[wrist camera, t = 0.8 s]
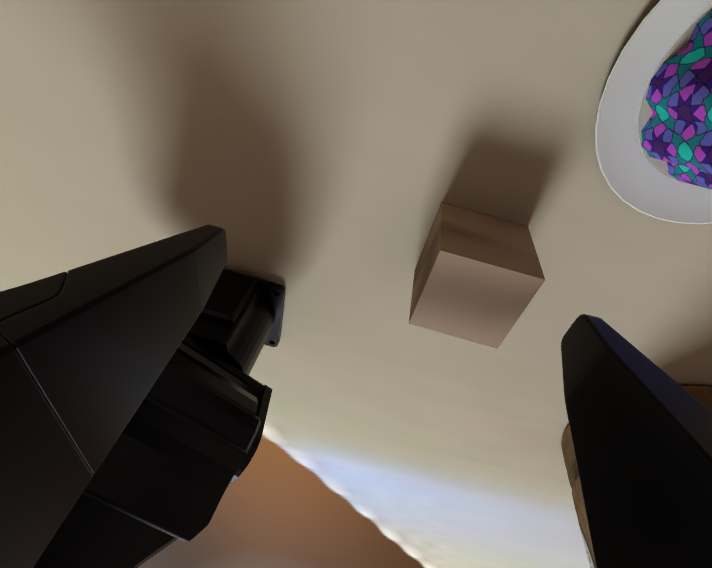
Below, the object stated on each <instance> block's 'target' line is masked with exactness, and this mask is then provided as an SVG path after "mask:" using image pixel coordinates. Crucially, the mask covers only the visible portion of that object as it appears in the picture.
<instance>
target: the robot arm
mask: <svg viewBox="0 0 712 568" xmlns="http://www.w3.org/2000/svg"><path fill="white" fill-rule="evenodd" d="M226 261H227V243H226V232H225V230H224V229H223V228H221V227H217V226H213V225H205V226H202V227H199V228H196V229H193V230H190V231H187V232H184V233H181V234H178V235H175V236H172V237H169V238H166V239H163V240H160V241H157V242H154V243H151V244H148V245H145V246H141V247H138V248H135V249H132V250H129V251H126V252H123V253H120V254H117V255H114V256H111V257H108V258H105V259H102V260H99V261H96V262H93V263H90V264H87V265H84V266H81V267H78V268H75V269H72V270H69V271H68V273H67V272H62V273H59V274H56V275H53V276H50V277H47V278H44V279H41V280H38V281H35V282H32V283H28V284H25V285H22V286H19V287H15V288H12V289H8V290H5V291H1V292H0V568H138V567H139V566H140V565H141V564H143V563H144V562H146V561H147V560H148V559H150V558H151V557H153V556H154V555H155V554H157V553H158V552H160V551H161V550H163V549H164V548H165V547H167V546H168V545H170V544H171V543H172V542H174V541H175V540H177V539H180V540H182V541H184V542H188V541H190V540H191V539H193V538H194V537H195V536H196V535H197V534H198V533H199V532H201V531H202V530H203V529H204V528H205V527H206V526H207V525H208V524H209V522H210V520H211V518H212V516H213V514H214V512H215V510H216V508H217V506H218V503H219V502H220V499H221V498H222V496H223V494H224V492H225V490H226V488H227V486H228V485H229V484H230V483H232V482H234V481H235V480H236V479H237V478H238V477H239V476H240V475H241V473H242V472H243V471H244V469H245V468H246V467H247V465H248V464H249V462H250V461H251V459H252V457H253V456H254V453H255V452H256V450H257V447H258V445H259V443H260V440H261V437H262V433H263V428H264V424H265V419H266V415H267V411H268V406H269V402H270V397H271V393H272V389H271V388H269V387H268V386H266V385H262V384H261V383H259V382H258V381H256V380H255V379H253V378H252V377H250V376H249V373H250V371H251V369H252V367H253V366H254V364H255V362H256V360H257V358H258V356H259V354H260V352H261V350H262V348H263V346H264V344H265V345H268V346H272V347H276V346H277V345H278V343H279V341H280V333H281V324H282V315H283V306H284V297H285V289H284V287H282V286H281V285H278V284H275V283H271V282H268V281H264V280H261V279H257V278H254V277H250V276H247V275H243V274H240V273H236V272H233V271H229V270H226V269H223V268H224V266H225V264H226ZM277 291H279V292H277ZM561 352H562V368H563V383H564V395H565V403H566V410H567V415H568V420H569V425H570V431H571V436H572V441H573V447H574V452H575V457H576V463H577V468H578V473H579V479H580V484H581V489H582V494H583V500H584V505H585V510H586V516H587V521H588V526H589V532H590V537H591V542H592V548H593V553H594V558H595V563H596V568H712V412H710V411H709V410H708V409H707V408H706V407H705V406H703V405H702V404H701V403H700V402H699V401H698V400H696V399H695V398H694V397H693V396H692V395H690V394H689V393H688V392H687V391H686V390H685V389H683V388H682V387H681V386H680V385H679V384H677V383H676V382H675V381H674V380H673V379H672V378H670V377H669V376H668V375H667V374H666V373H665V372H663V371H662V370H661V369H660V368H659V367H657V366H656V365H655V364H654V363H653V362H652V361H650V360H649V359H648V358H647V357H646V356H644V355H643V354H642V353H641V352H640V351H639V350H637V349H636V348H635V347H634V346H633V345H632V344H630V343H629V342H628V341H627V340H626V339H624V338H623V337H622V336H621V335H620V334H619V333H617V332H616V331H615V330H614V329H613V328H612V327H610V326H609V325H608V324H607V323H606V322H604V321H603V320H602V319H601V318H598V317H594V316H590V315H586V314H583V315H580V316H579V317H578V318H577V319H576V320H575V321H574V323H573V324H572V326H571V327H570V328H569V330H568V331H567V332H566V334H565V335H564V337H563V339H562V342H561Z"/></svg>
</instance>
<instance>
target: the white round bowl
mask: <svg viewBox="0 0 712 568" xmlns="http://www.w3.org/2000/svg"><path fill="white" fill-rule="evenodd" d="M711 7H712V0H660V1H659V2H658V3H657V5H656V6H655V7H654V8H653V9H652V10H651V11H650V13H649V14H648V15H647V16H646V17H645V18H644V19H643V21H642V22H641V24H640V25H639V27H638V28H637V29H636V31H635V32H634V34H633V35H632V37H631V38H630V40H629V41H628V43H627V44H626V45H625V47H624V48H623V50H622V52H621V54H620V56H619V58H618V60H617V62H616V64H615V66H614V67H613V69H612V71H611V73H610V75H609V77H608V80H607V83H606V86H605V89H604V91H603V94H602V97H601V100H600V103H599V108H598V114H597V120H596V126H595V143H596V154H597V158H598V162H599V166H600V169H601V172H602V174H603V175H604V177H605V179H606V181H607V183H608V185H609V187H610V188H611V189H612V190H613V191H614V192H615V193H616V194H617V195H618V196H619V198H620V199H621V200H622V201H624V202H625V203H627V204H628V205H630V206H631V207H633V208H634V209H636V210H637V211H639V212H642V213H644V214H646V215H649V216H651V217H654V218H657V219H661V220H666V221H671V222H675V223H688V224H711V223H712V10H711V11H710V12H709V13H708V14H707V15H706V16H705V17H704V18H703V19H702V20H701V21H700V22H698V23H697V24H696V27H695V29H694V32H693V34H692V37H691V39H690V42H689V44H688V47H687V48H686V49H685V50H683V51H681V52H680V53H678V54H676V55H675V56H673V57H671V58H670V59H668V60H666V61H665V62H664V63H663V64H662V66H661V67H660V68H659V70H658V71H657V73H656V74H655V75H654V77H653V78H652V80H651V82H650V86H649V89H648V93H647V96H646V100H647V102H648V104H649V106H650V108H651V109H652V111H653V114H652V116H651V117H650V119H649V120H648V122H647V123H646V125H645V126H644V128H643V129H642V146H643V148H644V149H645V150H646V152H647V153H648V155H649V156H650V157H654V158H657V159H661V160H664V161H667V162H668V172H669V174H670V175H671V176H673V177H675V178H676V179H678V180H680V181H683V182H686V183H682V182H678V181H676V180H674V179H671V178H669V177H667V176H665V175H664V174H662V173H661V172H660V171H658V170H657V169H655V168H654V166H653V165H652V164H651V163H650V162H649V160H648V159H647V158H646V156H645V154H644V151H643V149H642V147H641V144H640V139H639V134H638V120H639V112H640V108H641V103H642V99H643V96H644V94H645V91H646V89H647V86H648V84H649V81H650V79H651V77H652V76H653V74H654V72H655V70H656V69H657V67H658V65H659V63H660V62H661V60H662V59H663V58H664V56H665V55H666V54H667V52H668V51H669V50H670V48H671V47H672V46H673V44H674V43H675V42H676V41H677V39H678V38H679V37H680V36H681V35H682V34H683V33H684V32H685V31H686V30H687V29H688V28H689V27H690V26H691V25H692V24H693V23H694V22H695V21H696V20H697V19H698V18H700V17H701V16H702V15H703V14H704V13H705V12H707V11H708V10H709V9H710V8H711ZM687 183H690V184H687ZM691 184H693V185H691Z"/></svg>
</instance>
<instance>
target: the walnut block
mask: <svg viewBox="0 0 712 568" xmlns="http://www.w3.org/2000/svg"><path fill="white" fill-rule="evenodd" d="M544 281H545V278H544V275H543V272H542V269H541V266H540V263H539V259H538V256H537V253H536V250H535V247H534V244H533V241H532V238H531V235H530V232H529V229H528V227H527V226H524V225H520V224H516V223H513V222H509V221H506V220H502V219H499V218H495V217H491V216H488V215H484V214H481V213H477V212H474V211H470V210H466V209H463V208H459V207H456V206H452V205H448V204H445V203H441V205H440V208H439V210H438V213H437V215H436V218H435V220H434V223H433V226H432V228H431V231H430V233H429V236H428V238H427V241H426V243H425V246H424V248H423V251H422V254H421V256H420V259H419V261H418V264H417V266H416V269H415V273H414V282H413V291H412V300H411V309H410V318H409V324H413V325H416V326H420V327H423V328H427V329H430V330H434V331H437V332H441V333H444V334H448V335H451V336H455V337H458V338H462V339H465V340H469V341H472V342H476V343H479V344H483V345H486V346H490V347H493V348H497V349H498V347H499V346H500V344H501V343H502V341H503V340H504V338H505V337H506V336H507V334H508V333H509V331H510V330H511V328H512V327H513V325H514V324H515V323H516V321H517V320H518V318H519V317H520V315H521V314H522V313H523V311H524V310H525V308H526V307H527V305H528V304H529V302H530V301H531V300H532V298H533V297H534V295H535V294H536V292H537V291H538V289H539V288H540V287H541V285H542V284H543V282H544Z"/></svg>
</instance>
